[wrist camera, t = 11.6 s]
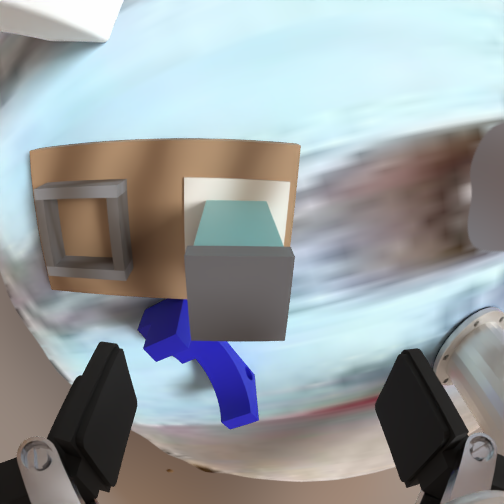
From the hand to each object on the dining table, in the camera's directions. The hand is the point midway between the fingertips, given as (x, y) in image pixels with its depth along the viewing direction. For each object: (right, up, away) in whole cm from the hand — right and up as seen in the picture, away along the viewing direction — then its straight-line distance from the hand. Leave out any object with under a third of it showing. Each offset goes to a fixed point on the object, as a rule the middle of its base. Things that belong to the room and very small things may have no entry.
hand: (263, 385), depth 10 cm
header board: (-8, +7, +13) cm, 16 cm away
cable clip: (-5, -4, +19) cm, 20 cm away
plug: (-1, +6, +12) cm, 13 cm away
